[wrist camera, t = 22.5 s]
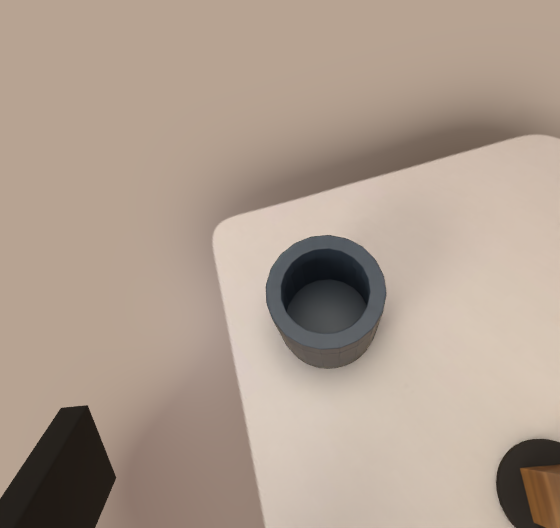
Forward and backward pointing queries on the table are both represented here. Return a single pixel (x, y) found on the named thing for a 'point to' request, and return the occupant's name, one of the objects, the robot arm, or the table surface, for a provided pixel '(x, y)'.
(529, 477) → the wooden block
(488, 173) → the table surface
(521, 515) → the coaster
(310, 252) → the jar
